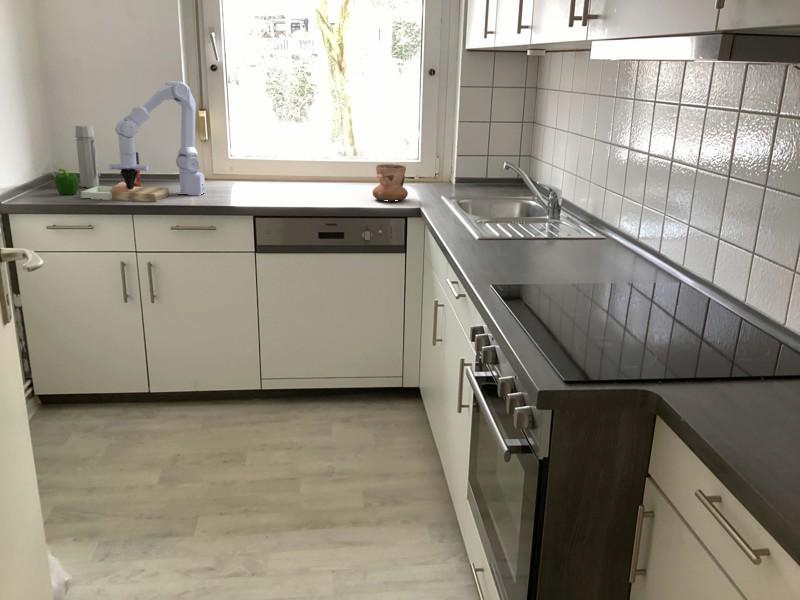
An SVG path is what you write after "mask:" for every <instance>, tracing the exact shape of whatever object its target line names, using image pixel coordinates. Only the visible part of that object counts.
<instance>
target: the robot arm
mask: <svg viewBox="0 0 800 600" xmlns="http://www.w3.org/2000/svg"><path fill="white" fill-rule="evenodd" d="M193 96H194V95H193V93H192V92H191V87H189V86H188V85H187V84H186V83H185V82H184V81H173V80H168V81H166V82H165V83H164V84H163V85H161V86H160V87H159V88H158V90H157V91H156V92H155V93H154V94H153V95H152V96H151V97H150V98H149V99H148V101H147V100H146V102H145V103H144V105H142V106H138V105H137V106H135V107H134V106H133V108H132V110H131V112H130V113H129V114H128V115H127V116H124V117H123V119H122V120H120V121H119V120H118V122H117V123H116V126H115V128H114V130H115V132H116V134H117V135H118V149H119V150H118V151H119V160H120V163H110V164H108V168H109V170H111V171H112V170H119V171H120V175H121V176H122V178H123V179H124V182H126V184H127V187H128V189H133V187H134V181H135V178H136V175H137V173H138V171H140V172H141V171H142V172H148V171H149V170H150V169H149V165H145V164H139V165H137V163H136V150H137V149H136V141H135V136H136V134H137V132H138V129H139V128H140V127H141V126H142V125H144V124H145V123H146V122H147V121H148V120H149V119H150V114H151V112H153V111H154V110H155V109H156V108H158V106H160V105H161V104H162V103H163V102H164V101H168V100H173V101H175V102H176V103H177V104H178V105H179V106H180V107H181V109H180V110H181V114H180V115H181V118H180V119H181V120H180V121H181V126H180V130H181V131H180V132H181V133H180V134H181V135H180V137H181V138H180V148H179V149H178V154H177V157H176V160H175V164H176V166H177V167H178V169H179V170H178V172H179V187H180V190H179V192H177V193H176V194H177V195H178V194H188V195H187V196H202V195H203V193H204V194H205V193H206V192H207V191H206V181H205V180H206V179H205V174H204V173H203V172H199V169H200V167H201V162H200V159H199V153H198V151H197V149H196V109H197V108H196V107H197V106H196V100H195V98H194V97H193ZM127 168H133V169H127ZM201 194H202V195H201Z"/></svg>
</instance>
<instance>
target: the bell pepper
mask: <svg viewBox="0 0 800 600" xmlns="http://www.w3.org/2000/svg"><path fill="white" fill-rule="evenodd" d="M58 172H63V173H56V175H55V177H54V183H55V187H56V190H57V192H58V193H59V194H60V195H61V194H62V195H63V196H66V195H67V196H72V194H74V195H76V194H77V192H78V190H79V185H80V184H79V178H78V176H77V174H76V173H73V172H72V173H68V172H67V170H65V168H59V169H58ZM65 194H66V195H65Z"/></svg>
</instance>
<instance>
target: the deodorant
mask: <svg viewBox="0 0 800 600" xmlns="http://www.w3.org/2000/svg"><path fill="white" fill-rule="evenodd" d="M136 163H137V165H140V157H139V152H136ZM127 169H133V168H127ZM124 182H125V181H124ZM125 184H126V182H125ZM126 185H127V184H126ZM134 187H142V182H141V171H138V173H137V175H136V178H135V181H134Z"/></svg>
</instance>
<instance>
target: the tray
mask: <svg viewBox="0 0 800 600" xmlns="http://www.w3.org/2000/svg"><path fill="white" fill-rule="evenodd" d="M112 186H113V185H112ZM112 186H110V185H109V186H108V185H107V186H106V185H99V186H96V187H93V188H86V189H85V190H81V191H79V196H80V199H81V198H91V199H90V200H100V199H102V200H104V201H105V200H107V201H112V193H111V192H110V190H111V189H112Z"/></svg>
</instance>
